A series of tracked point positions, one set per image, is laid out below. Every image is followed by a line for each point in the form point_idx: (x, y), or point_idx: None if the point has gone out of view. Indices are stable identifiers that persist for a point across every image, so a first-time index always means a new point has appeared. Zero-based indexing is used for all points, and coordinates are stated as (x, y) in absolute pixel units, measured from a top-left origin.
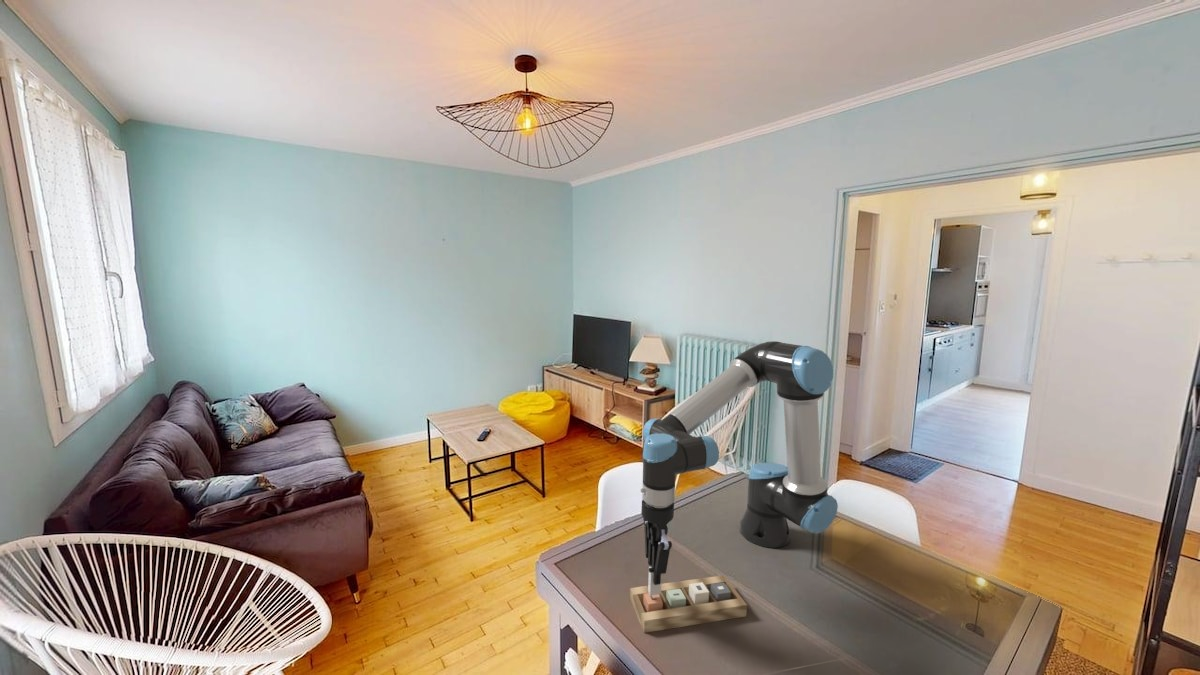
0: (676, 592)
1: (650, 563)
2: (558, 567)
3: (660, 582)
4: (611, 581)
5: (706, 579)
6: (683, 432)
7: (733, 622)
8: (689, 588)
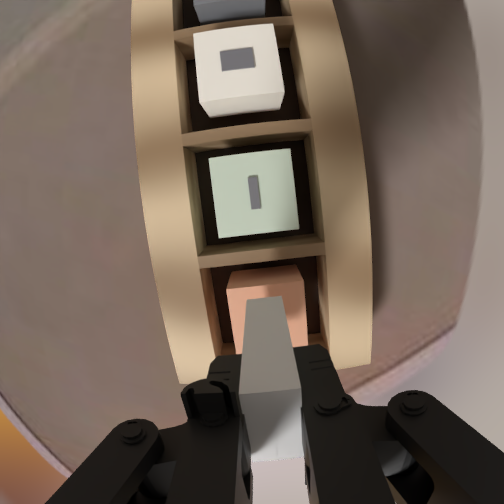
0: (237, 186)
1: (252, 476)
2: None
3: (326, 351)
4: (106, 388)
5: (142, 21)
6: None
7: None
8: (209, 107)
